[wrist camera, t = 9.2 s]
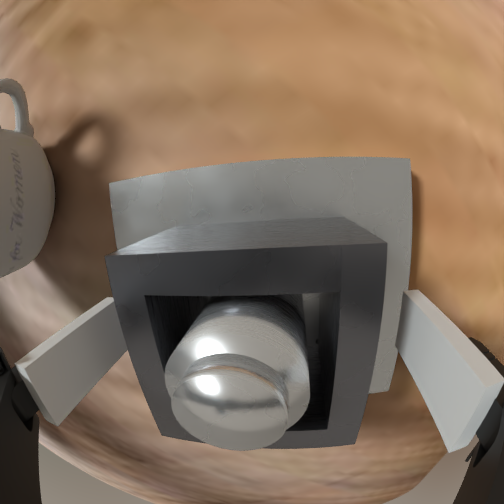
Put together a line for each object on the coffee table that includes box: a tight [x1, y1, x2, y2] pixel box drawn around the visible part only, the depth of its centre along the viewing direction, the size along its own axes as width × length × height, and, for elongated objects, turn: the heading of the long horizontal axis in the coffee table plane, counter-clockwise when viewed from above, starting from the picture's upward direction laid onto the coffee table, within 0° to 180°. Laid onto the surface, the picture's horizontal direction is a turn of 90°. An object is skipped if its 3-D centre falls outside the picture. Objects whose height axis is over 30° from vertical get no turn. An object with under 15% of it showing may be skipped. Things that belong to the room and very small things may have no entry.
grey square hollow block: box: [105, 217, 388, 449], centre depth 11 cm, size 8×8×6 cm
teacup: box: [0, 78, 55, 278], centre depth 12 cm, size 14×11×8 cm
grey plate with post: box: [109, 157, 412, 451], centre depth 11 cm, size 16×14×10 cm
